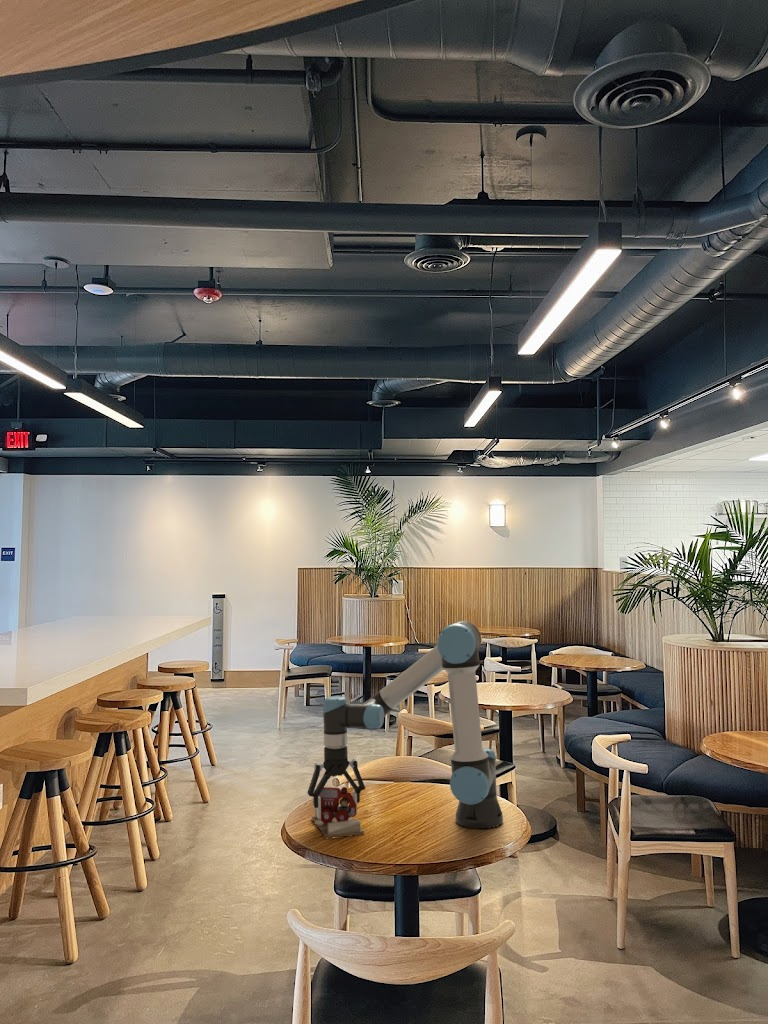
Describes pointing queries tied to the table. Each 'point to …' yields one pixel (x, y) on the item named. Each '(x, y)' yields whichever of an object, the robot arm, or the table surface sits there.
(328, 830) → the gray jig
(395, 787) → the table surface
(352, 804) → the toy fire truck
